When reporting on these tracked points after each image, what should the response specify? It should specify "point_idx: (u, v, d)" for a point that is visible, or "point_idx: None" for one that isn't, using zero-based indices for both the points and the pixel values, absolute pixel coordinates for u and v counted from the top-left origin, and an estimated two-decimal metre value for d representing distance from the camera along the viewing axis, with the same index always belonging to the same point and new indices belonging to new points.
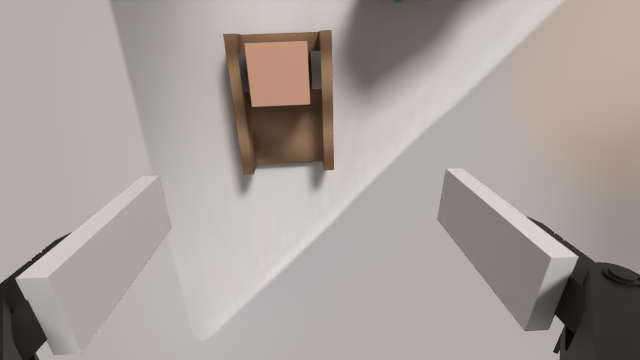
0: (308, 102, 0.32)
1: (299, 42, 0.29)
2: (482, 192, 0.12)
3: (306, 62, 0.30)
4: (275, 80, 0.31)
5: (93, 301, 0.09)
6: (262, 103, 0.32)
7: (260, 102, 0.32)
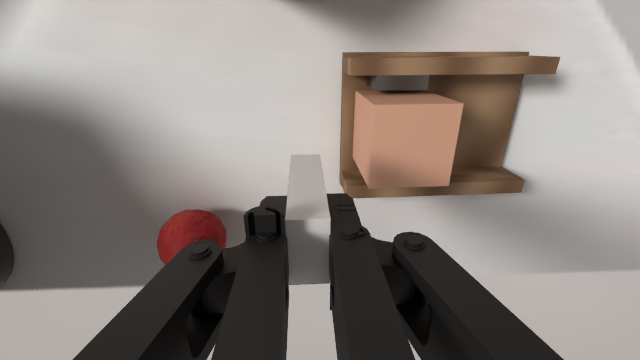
0: (460, 106, 0.20)
1: (375, 116, 0.20)
2: (313, 173, 0.14)
3: (403, 107, 0.20)
4: (420, 153, 0.21)
5: None
6: (447, 172, 0.22)
7: (446, 175, 0.22)
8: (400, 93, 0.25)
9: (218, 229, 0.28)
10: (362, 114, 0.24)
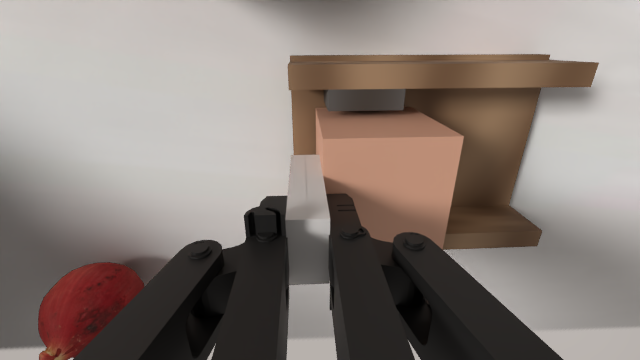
0: (459, 140, 0.13)
1: (325, 155, 0.13)
2: (312, 173, 0.14)
3: (368, 141, 0.13)
4: (398, 208, 0.14)
5: None
6: (439, 234, 0.15)
7: (437, 238, 0.15)
8: (375, 113, 0.17)
9: (126, 293, 0.21)
10: (318, 144, 0.17)
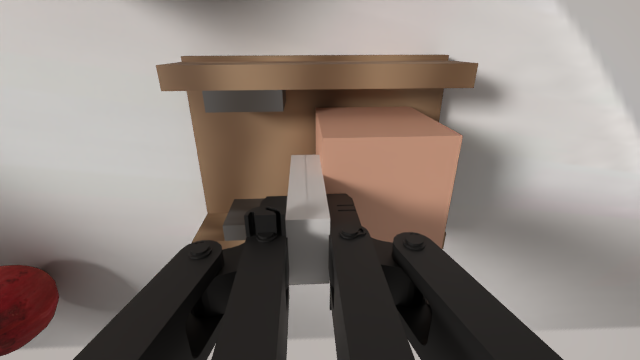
0: (457, 139, 0.13)
1: (325, 155, 0.13)
2: (312, 173, 0.14)
3: (368, 141, 0.13)
4: (397, 207, 0.14)
5: None
6: (438, 232, 0.15)
7: (436, 237, 0.15)
8: (374, 113, 0.18)
9: (28, 296, 0.20)
10: (318, 144, 0.17)
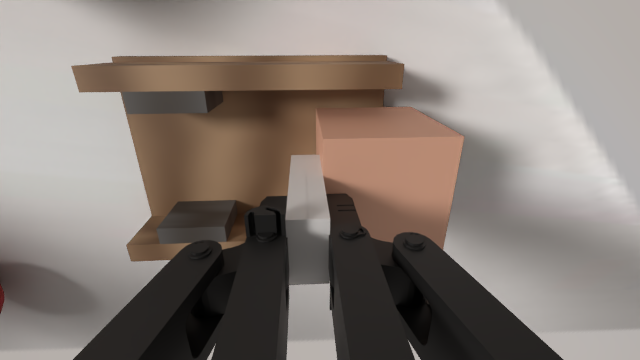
0: (459, 140, 0.13)
1: (325, 156, 0.13)
2: (312, 173, 0.14)
3: (369, 142, 0.13)
4: (398, 208, 0.14)
5: None
6: (439, 234, 0.15)
7: (437, 238, 0.15)
8: (375, 113, 0.17)
9: None
10: (318, 145, 0.16)
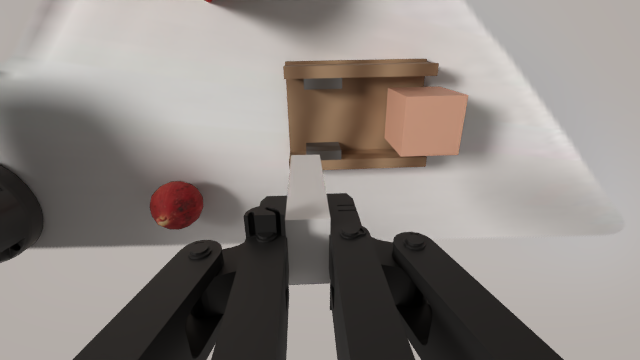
0: (466, 97, 0.29)
1: (406, 104, 0.29)
2: (313, 173, 0.14)
3: (426, 98, 0.29)
4: (437, 130, 0.31)
5: None
6: (456, 144, 0.31)
7: (456, 146, 0.31)
8: (422, 89, 0.34)
9: (195, 195, 0.37)
10: (395, 104, 0.33)
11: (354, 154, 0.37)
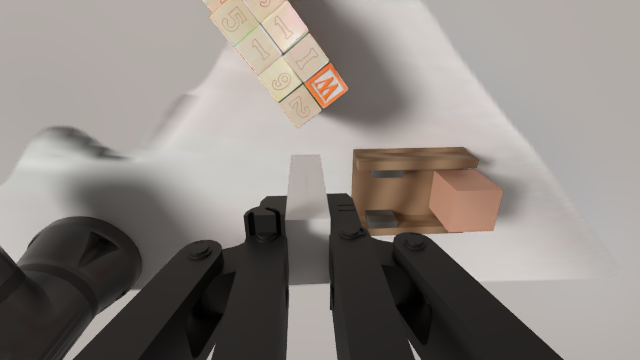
0: (502, 191, 0.38)
1: (456, 196, 0.38)
2: (313, 173, 0.14)
3: (471, 192, 0.38)
4: (478, 214, 0.39)
5: None
6: (492, 223, 0.40)
7: (491, 225, 0.40)
8: (463, 175, 0.43)
9: None
10: (443, 188, 0.42)
11: (405, 221, 0.46)
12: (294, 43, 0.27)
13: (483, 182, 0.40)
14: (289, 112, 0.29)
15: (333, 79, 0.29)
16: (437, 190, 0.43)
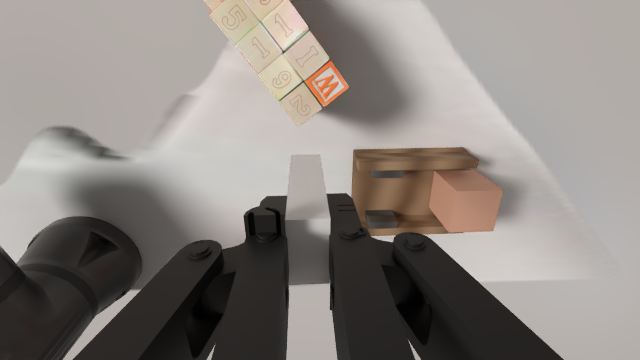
0: (502, 191, 0.38)
1: (456, 196, 0.38)
2: (313, 173, 0.14)
3: (471, 192, 0.38)
4: (478, 214, 0.40)
5: None
6: (492, 224, 0.40)
7: (491, 225, 0.40)
8: (463, 175, 0.43)
9: None
10: (443, 189, 0.42)
11: (405, 221, 0.46)
12: (294, 40, 0.27)
13: (483, 182, 0.40)
14: (289, 110, 0.29)
15: (334, 77, 0.28)
16: (437, 190, 0.43)
